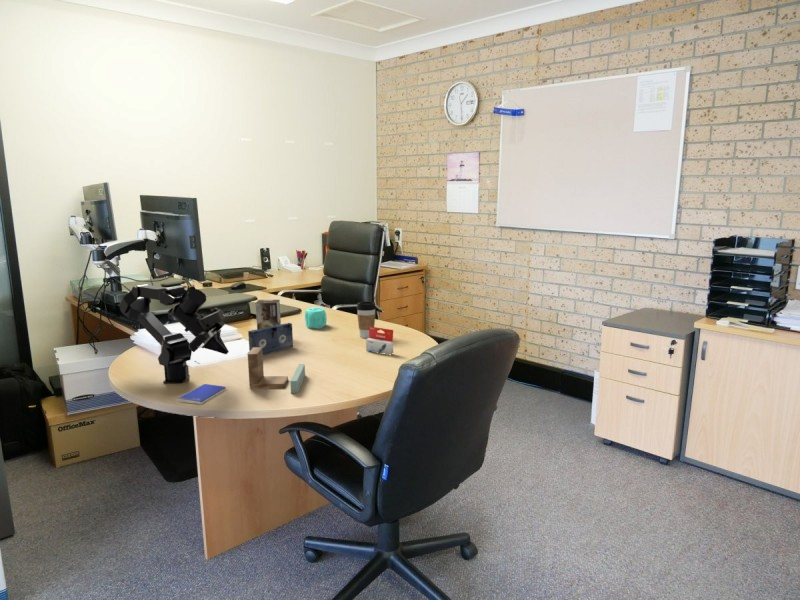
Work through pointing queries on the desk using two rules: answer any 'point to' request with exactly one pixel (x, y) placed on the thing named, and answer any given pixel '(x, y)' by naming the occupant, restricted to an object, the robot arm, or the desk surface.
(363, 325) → the coffee cup
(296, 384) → the board
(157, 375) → the desk surface
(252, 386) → the bookend
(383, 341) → the ink cartridge box
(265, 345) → the vhs cassette tape
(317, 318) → the decorative dice
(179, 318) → the robot arm
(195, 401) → the hard drive
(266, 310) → the coffee box
